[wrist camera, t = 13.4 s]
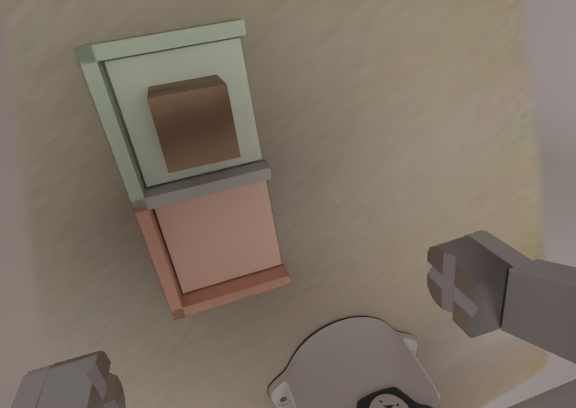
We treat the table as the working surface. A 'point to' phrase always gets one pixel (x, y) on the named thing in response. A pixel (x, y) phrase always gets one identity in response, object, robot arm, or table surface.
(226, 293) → the green and pink trays
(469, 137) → the table surface
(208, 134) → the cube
